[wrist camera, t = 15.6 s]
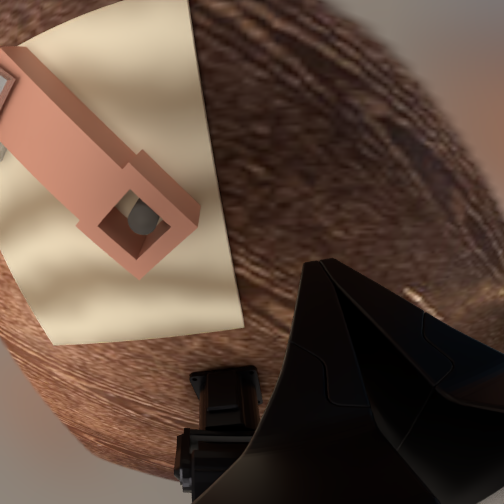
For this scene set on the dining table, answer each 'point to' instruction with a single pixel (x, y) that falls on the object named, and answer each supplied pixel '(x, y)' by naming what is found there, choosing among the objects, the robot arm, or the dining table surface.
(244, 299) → the dining table surface
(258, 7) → the dining table surface
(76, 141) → the link
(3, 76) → the block
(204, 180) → the board
